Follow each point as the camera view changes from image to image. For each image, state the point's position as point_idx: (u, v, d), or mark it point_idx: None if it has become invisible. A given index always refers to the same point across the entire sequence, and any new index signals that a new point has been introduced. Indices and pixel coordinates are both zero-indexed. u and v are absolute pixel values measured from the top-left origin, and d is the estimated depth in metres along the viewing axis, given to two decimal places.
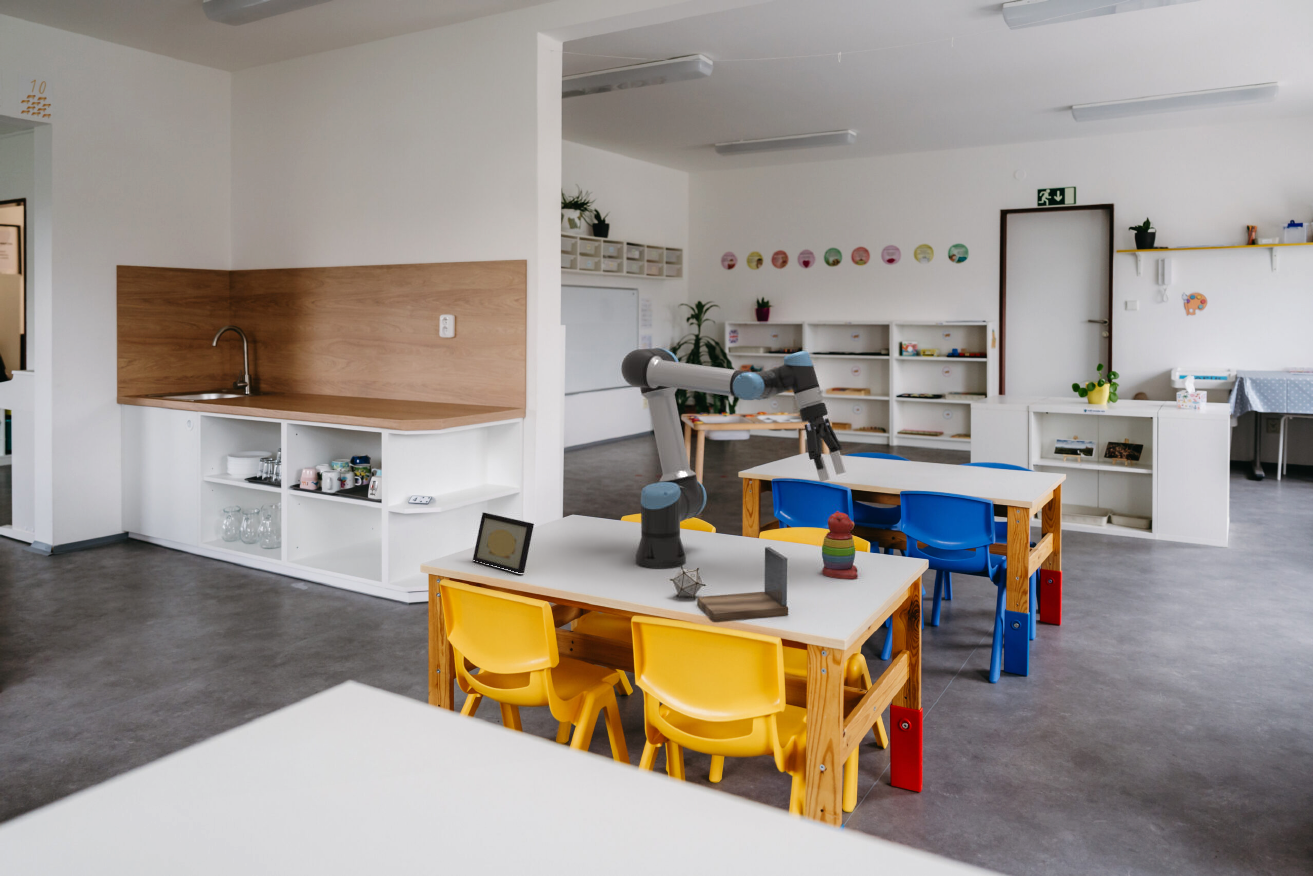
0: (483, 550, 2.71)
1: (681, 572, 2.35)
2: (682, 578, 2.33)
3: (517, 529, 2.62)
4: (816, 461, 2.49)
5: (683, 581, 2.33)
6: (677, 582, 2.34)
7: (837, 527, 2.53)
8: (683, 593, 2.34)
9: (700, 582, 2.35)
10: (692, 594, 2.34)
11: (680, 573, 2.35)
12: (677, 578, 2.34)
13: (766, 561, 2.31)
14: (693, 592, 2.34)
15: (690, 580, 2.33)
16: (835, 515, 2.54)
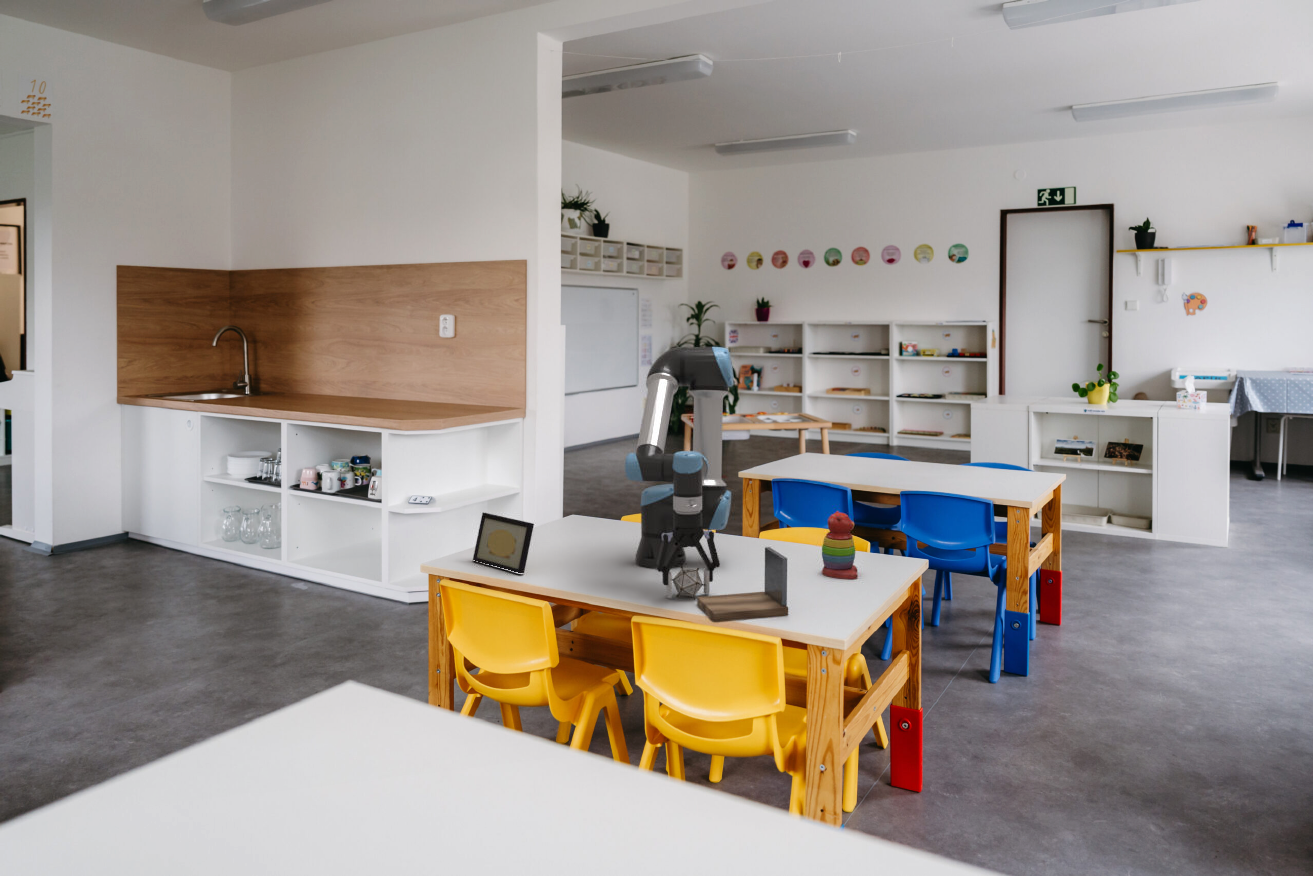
0: (483, 550, 2.71)
1: (681, 572, 2.35)
2: (682, 578, 2.33)
3: (517, 529, 2.62)
4: (663, 575, 2.34)
5: (683, 581, 2.33)
6: (677, 582, 2.34)
7: (837, 527, 2.53)
8: (683, 593, 2.34)
9: (700, 582, 2.35)
10: (692, 594, 2.34)
11: (680, 573, 2.35)
12: (677, 578, 2.34)
13: (766, 561, 2.31)
14: (693, 592, 2.34)
15: (690, 580, 2.33)
16: (835, 515, 2.54)
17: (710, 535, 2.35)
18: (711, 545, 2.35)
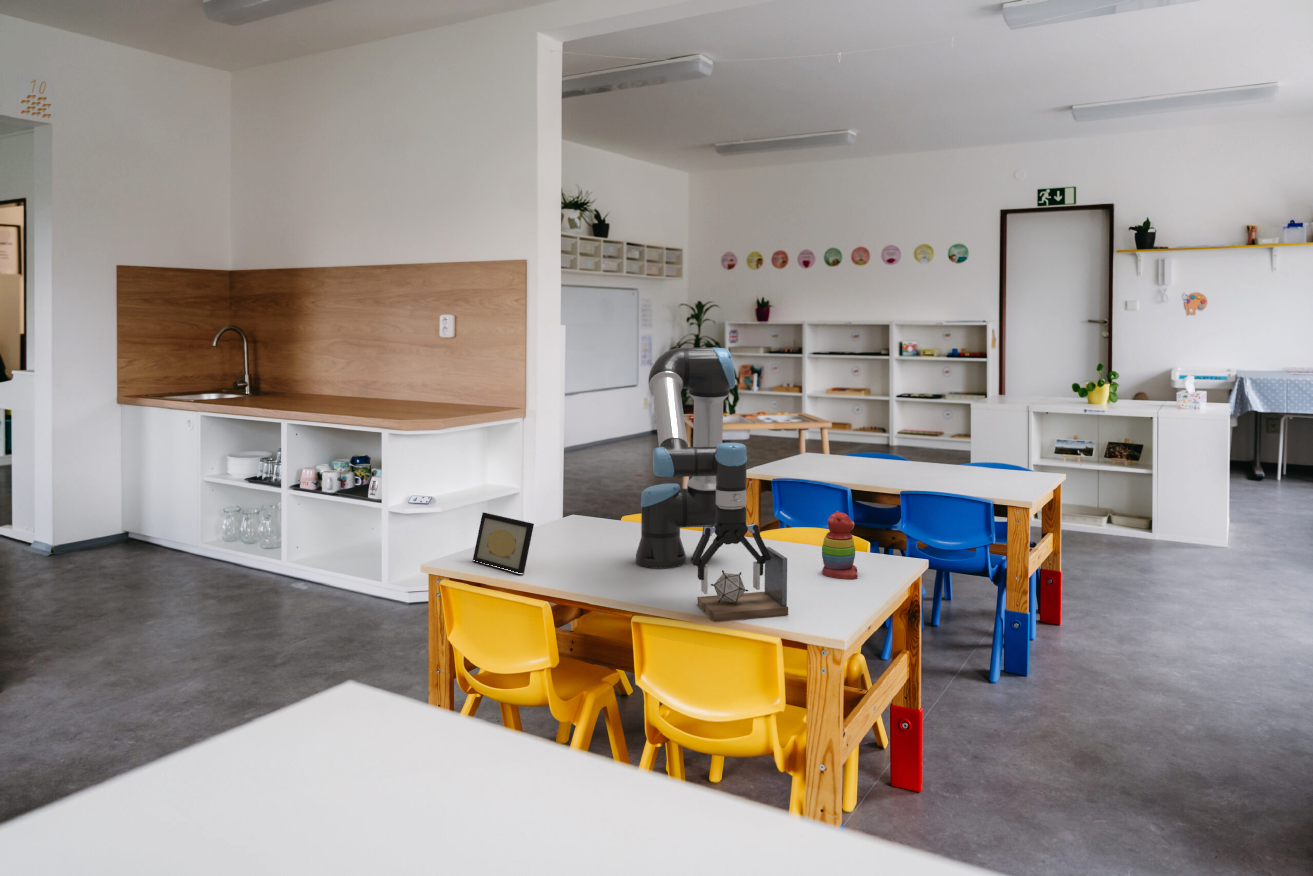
0: (483, 550, 2.71)
1: (723, 577, 2.23)
2: (724, 583, 2.21)
3: (517, 529, 2.62)
4: (698, 569, 2.21)
5: (725, 586, 2.21)
6: (719, 587, 2.22)
7: (837, 527, 2.53)
8: (725, 599, 2.22)
9: (743, 587, 2.23)
10: (734, 600, 2.22)
11: (722, 578, 2.23)
12: (718, 583, 2.22)
13: (766, 561, 2.31)
14: (735, 598, 2.21)
15: (732, 585, 2.21)
16: (835, 515, 2.54)
17: (755, 529, 2.22)
18: (758, 539, 2.23)
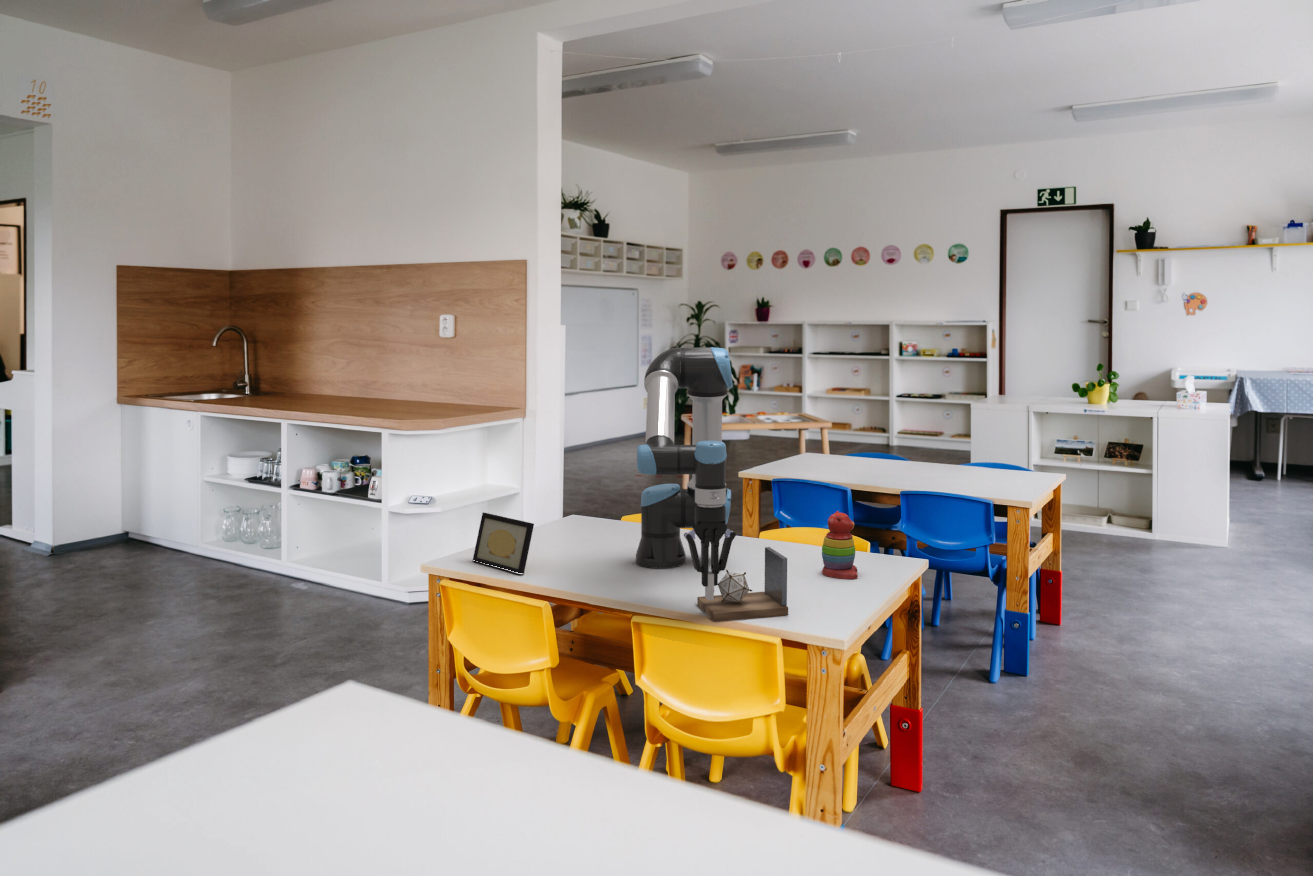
0: (483, 550, 2.71)
1: (727, 576, 2.23)
2: (729, 583, 2.21)
3: (517, 529, 2.62)
4: (702, 576, 2.22)
5: (729, 585, 2.21)
6: (723, 587, 2.22)
7: (837, 527, 2.53)
8: (729, 598, 2.22)
9: (747, 587, 2.23)
10: (738, 600, 2.22)
11: (726, 577, 2.23)
12: (723, 582, 2.22)
13: (766, 561, 2.31)
14: (739, 597, 2.22)
15: (737, 584, 2.21)
16: (835, 515, 2.54)
17: (731, 535, 2.21)
18: (727, 545, 2.21)
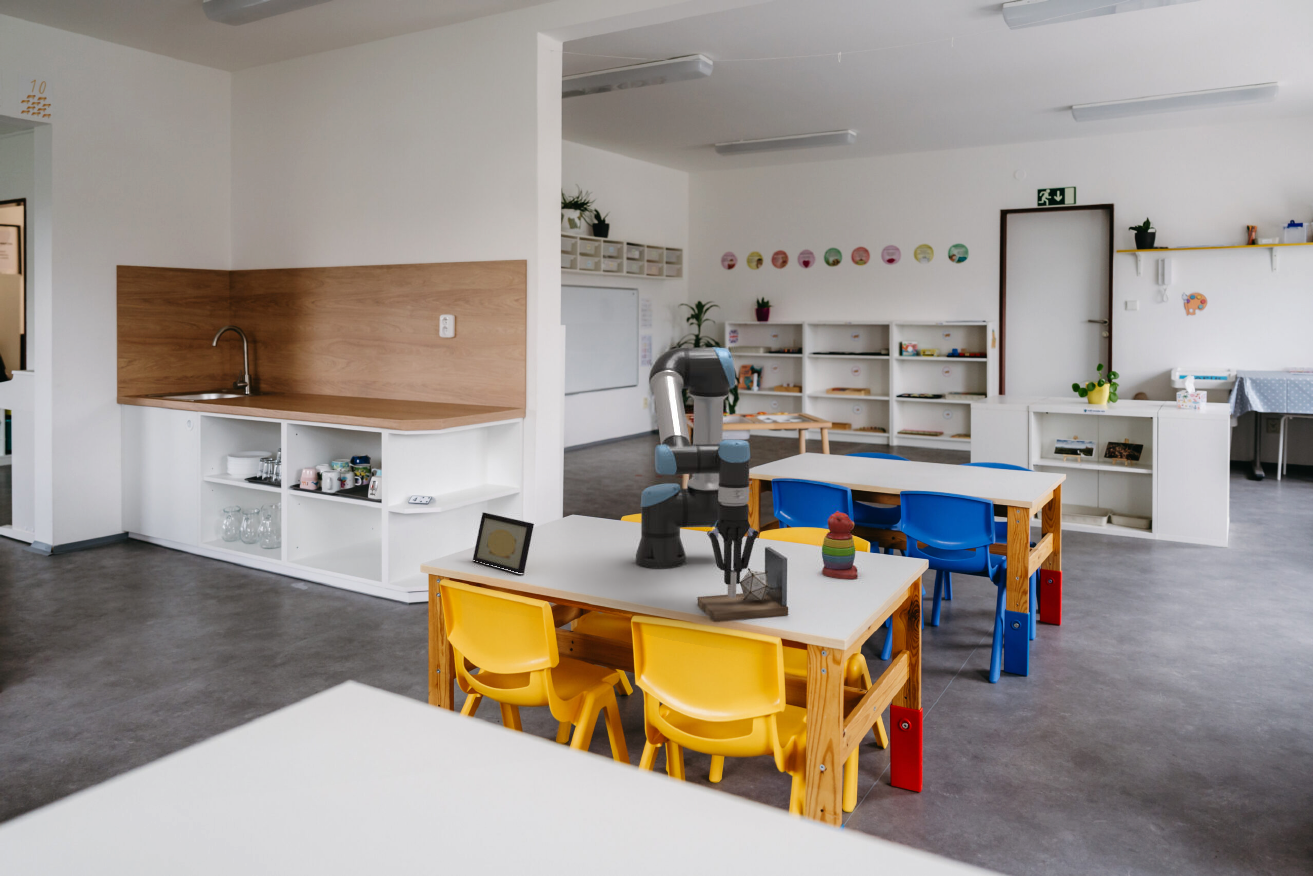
0: (483, 550, 2.71)
1: (749, 574, 2.24)
2: (751, 581, 2.22)
3: (517, 529, 2.62)
4: (725, 574, 2.23)
5: (752, 584, 2.22)
6: (745, 585, 2.23)
7: (837, 527, 2.53)
8: (751, 596, 2.24)
9: (769, 585, 2.25)
10: (760, 598, 2.23)
11: (748, 575, 2.24)
12: (745, 581, 2.24)
13: (766, 561, 2.31)
14: (762, 596, 2.23)
15: (759, 583, 2.22)
16: (835, 515, 2.54)
17: (754, 534, 2.22)
18: (750, 544, 2.22)
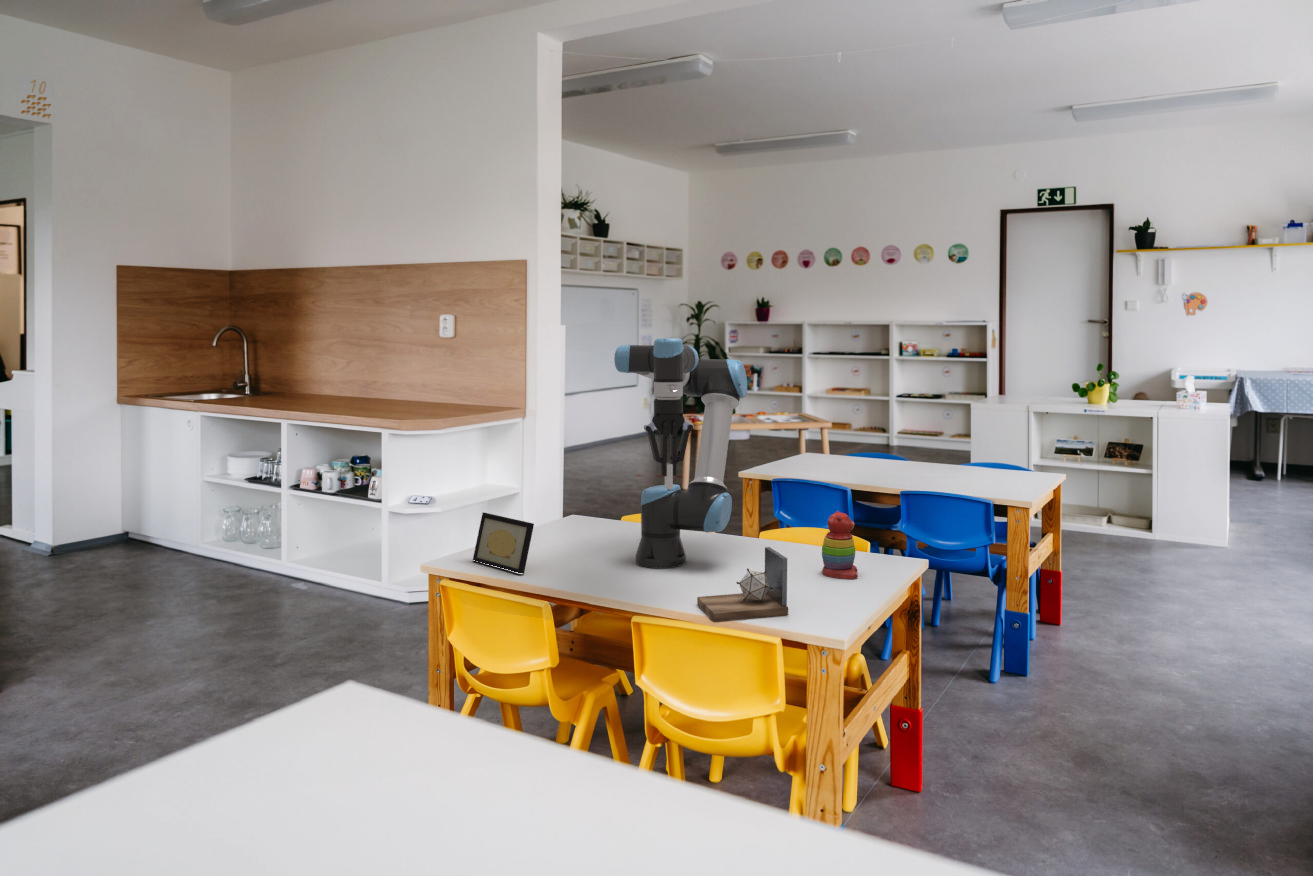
0: (483, 550, 2.71)
1: (748, 575, 2.24)
2: (750, 581, 2.22)
3: (517, 529, 2.62)
4: (661, 466, 2.35)
5: (751, 584, 2.22)
6: (745, 586, 2.23)
7: (837, 527, 2.53)
8: (750, 597, 2.24)
9: (768, 585, 2.25)
10: (760, 598, 2.23)
11: (747, 576, 2.24)
12: (744, 581, 2.24)
13: (766, 561, 2.31)
14: (761, 596, 2.23)
15: (758, 583, 2.22)
16: (835, 515, 2.54)
17: (688, 427, 2.34)
18: (685, 437, 2.34)
